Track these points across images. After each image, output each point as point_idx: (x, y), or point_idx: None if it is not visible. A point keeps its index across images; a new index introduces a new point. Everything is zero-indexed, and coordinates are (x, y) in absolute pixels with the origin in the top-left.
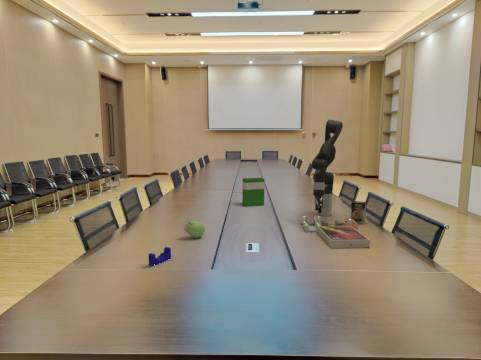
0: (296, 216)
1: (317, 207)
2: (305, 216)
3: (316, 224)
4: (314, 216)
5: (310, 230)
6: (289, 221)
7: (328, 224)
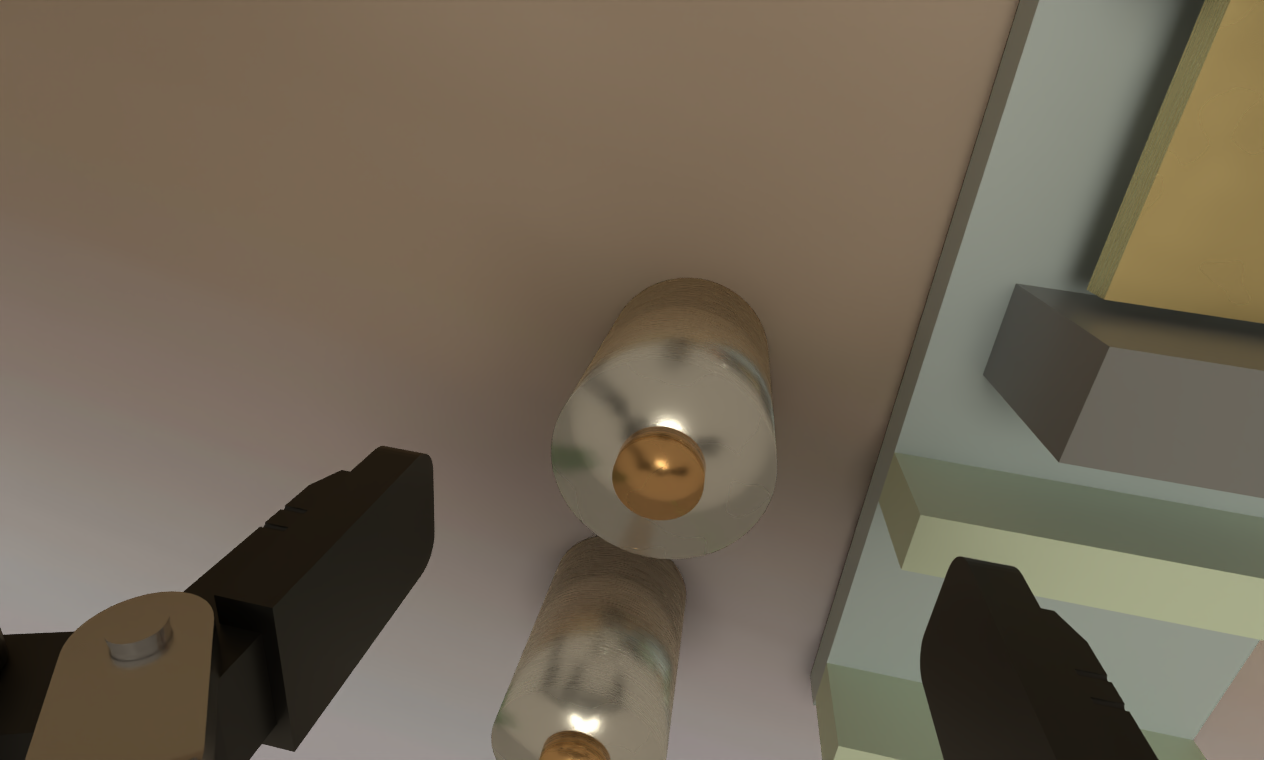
0: (53, 506)
1: (358, 574)
2: (663, 757)
3: (1143, 603)
4: (689, 555)
5: (1211, 706)
6: (409, 719)
7: (1194, 234)
